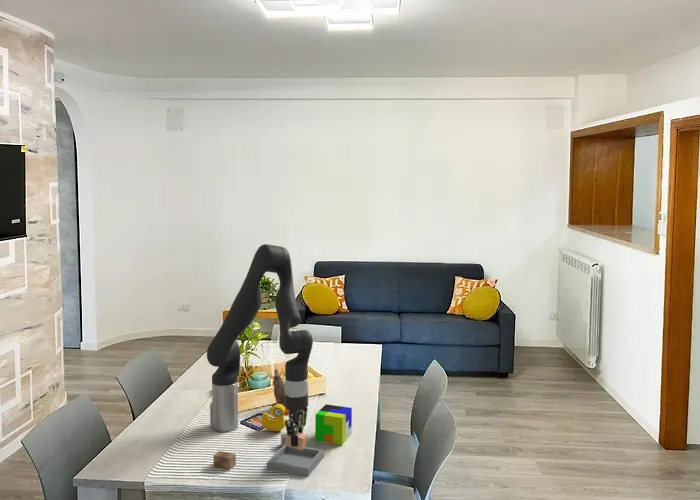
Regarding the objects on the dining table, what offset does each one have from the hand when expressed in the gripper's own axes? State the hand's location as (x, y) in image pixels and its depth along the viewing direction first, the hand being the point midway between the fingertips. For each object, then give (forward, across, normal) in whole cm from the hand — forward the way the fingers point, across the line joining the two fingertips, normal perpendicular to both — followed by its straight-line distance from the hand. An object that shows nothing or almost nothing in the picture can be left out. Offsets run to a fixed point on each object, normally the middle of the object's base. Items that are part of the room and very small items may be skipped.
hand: (296, 443), depth 204 cm
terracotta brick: (+1, 0, -1) cm, 1 cm away
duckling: (+7, -22, -17) cm, 29 cm away
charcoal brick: (+7, -12, -7) cm, 16 cm away
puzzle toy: (+7, -23, +5) cm, 24 cm away
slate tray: (+7, 0, 0) cm, 7 cm away
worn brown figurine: (+7, -43, -22) cm, 49 cm away
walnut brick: (+7, +9, -21) cm, 24 cm away
